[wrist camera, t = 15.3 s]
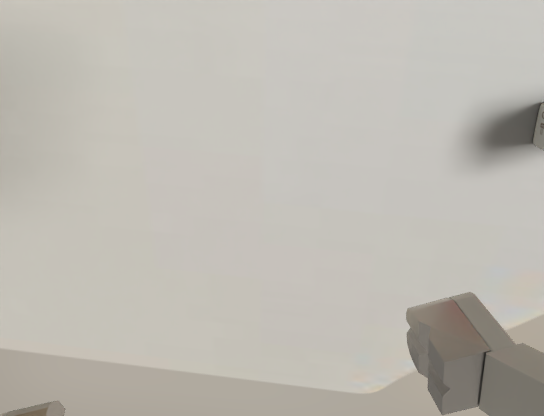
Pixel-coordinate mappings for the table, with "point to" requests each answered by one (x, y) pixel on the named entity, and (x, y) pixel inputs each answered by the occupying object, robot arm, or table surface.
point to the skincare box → (539, 129)
